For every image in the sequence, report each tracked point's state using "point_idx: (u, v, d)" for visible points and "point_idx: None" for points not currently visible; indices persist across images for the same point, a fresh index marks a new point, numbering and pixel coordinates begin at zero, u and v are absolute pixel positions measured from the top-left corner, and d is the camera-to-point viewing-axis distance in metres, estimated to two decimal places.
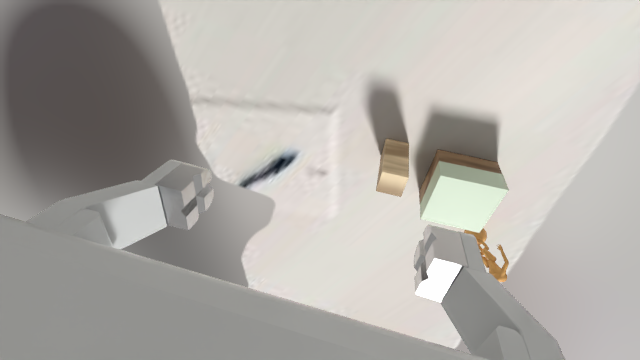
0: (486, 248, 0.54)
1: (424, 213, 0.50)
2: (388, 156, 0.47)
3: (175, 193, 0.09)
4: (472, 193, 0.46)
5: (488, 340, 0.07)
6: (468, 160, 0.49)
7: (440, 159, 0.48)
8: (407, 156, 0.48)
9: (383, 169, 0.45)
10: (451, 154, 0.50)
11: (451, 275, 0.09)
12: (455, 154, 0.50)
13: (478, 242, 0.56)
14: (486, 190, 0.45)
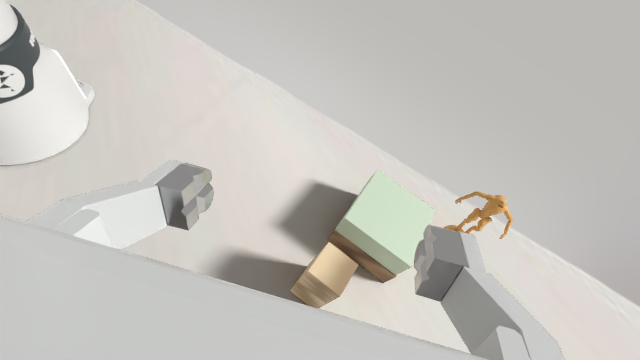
0: (465, 219, 0.44)
1: (401, 258, 0.36)
2: (302, 275, 0.33)
3: (175, 192, 0.09)
4: (377, 198, 0.39)
5: (488, 340, 0.07)
6: None
7: (334, 230, 0.40)
8: (314, 258, 0.36)
9: (307, 271, 0.30)
10: None
11: (451, 275, 0.09)
12: None
13: (460, 231, 0.45)
14: (374, 185, 0.40)
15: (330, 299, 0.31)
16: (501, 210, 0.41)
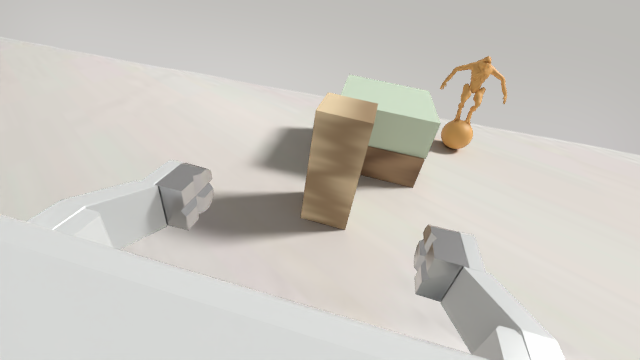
0: (460, 103, 0.39)
1: (424, 119, 0.28)
2: None
3: (175, 193, 0.09)
4: (363, 88, 0.33)
5: (488, 340, 0.07)
6: None
7: None
8: None
9: (315, 117, 0.20)
10: None
11: (451, 275, 0.09)
12: None
13: (461, 120, 0.39)
14: (354, 82, 0.34)
15: (362, 155, 0.21)
16: (489, 69, 0.37)
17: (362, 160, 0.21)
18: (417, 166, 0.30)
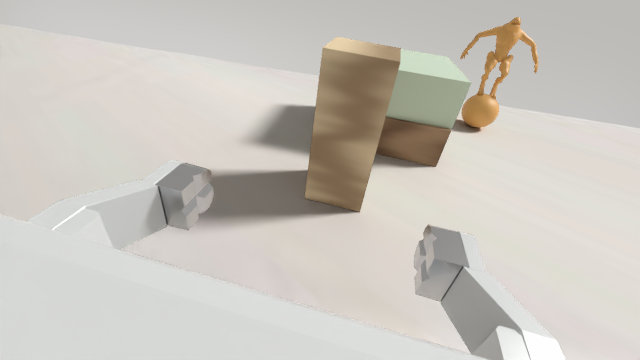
0: (483, 75, 0.34)
1: (451, 78, 0.23)
2: None
3: (175, 193, 0.09)
4: None
5: (488, 340, 0.07)
6: None
7: None
8: None
9: None
10: None
11: (451, 275, 0.09)
12: None
13: (485, 94, 0.35)
14: None
15: (383, 109, 0.16)
16: (518, 33, 0.32)
17: (383, 116, 0.16)
18: (442, 139, 0.25)
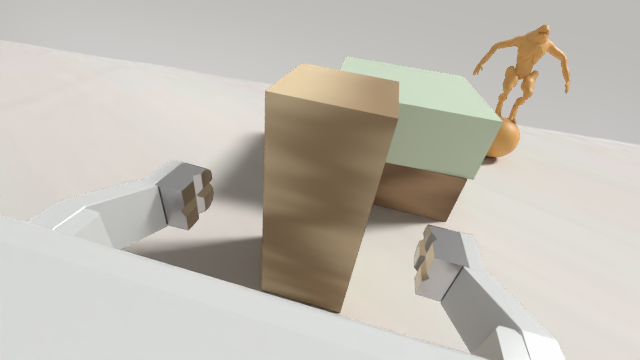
0: (501, 94, 0.28)
1: (474, 115, 0.17)
2: None
3: (175, 193, 0.09)
4: (369, 73, 0.22)
5: (488, 340, 0.07)
6: None
7: None
8: None
9: None
10: None
11: (451, 275, 0.09)
12: None
13: None
14: (354, 65, 0.23)
15: (371, 187, 0.10)
16: (546, 44, 0.26)
17: (371, 197, 0.10)
18: (455, 190, 0.19)
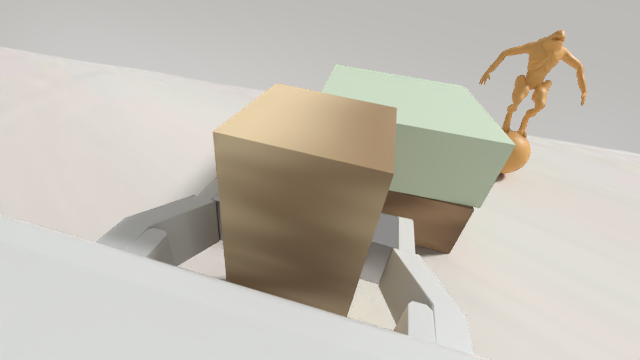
0: (510, 106, 0.26)
1: (482, 137, 0.14)
2: None
3: None
4: (360, 84, 0.19)
5: (403, 315, 0.07)
6: None
7: None
8: None
9: None
10: None
11: (384, 257, 0.09)
12: None
13: None
14: (344, 75, 0.20)
15: (358, 253, 0.07)
16: (560, 52, 0.24)
17: (359, 264, 0.08)
18: (459, 220, 0.17)
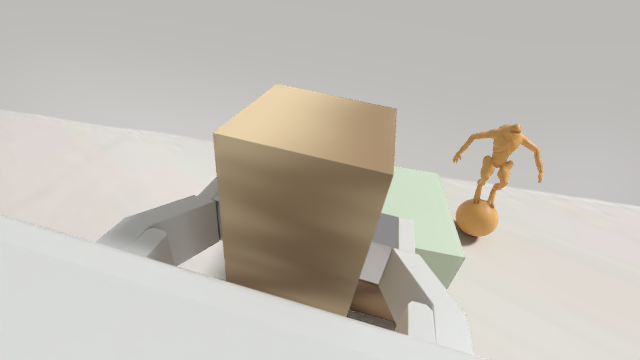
0: (479, 180, 0.30)
1: (440, 250, 0.19)
2: None
3: None
4: None
5: (403, 315, 0.07)
6: None
7: None
8: None
9: None
10: None
11: (384, 257, 0.09)
12: None
13: (482, 201, 0.30)
14: None
15: (358, 254, 0.07)
16: (518, 140, 0.28)
17: (359, 265, 0.08)
18: None
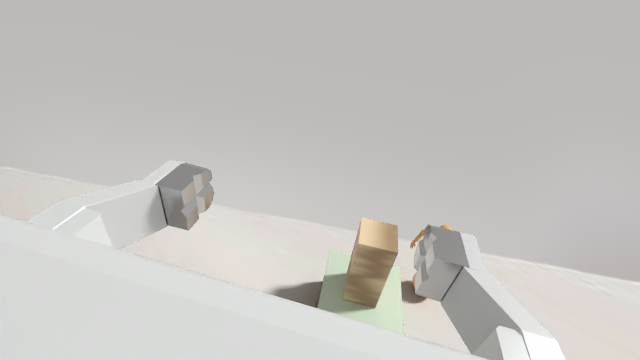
0: None
1: None
2: (351, 265, 0.33)
3: (175, 193, 0.09)
4: (340, 280, 0.37)
5: (488, 340, 0.07)
6: None
7: None
8: (352, 252, 0.36)
9: (357, 246, 0.30)
10: None
11: (451, 275, 0.09)
12: None
13: None
14: (333, 268, 0.39)
15: (389, 268, 0.30)
16: None
17: (389, 270, 0.31)
18: None
